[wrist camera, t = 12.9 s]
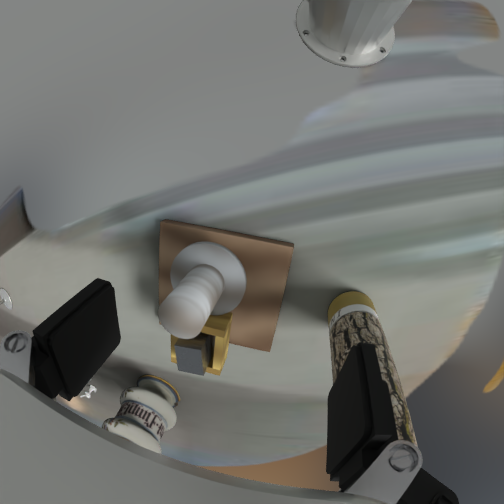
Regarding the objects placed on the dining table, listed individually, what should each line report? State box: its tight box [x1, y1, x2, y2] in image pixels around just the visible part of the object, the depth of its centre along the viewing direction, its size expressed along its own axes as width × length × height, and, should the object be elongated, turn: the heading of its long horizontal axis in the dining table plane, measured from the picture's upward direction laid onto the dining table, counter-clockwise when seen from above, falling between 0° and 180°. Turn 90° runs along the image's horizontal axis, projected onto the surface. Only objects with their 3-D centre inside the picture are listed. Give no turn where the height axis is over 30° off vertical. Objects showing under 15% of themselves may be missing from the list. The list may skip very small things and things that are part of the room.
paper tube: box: [328, 291, 417, 446], centre depth 27 cm, size 7×7×25 cm
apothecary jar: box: [102, 375, 180, 454], centre depth 44 cm, size 12×12×18 cm
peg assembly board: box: [158, 219, 294, 376], centre depth 34 cm, size 18×18×16 cm
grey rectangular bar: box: [174, 332, 216, 376], centre depth 36 cm, size 4×3×11 cm
